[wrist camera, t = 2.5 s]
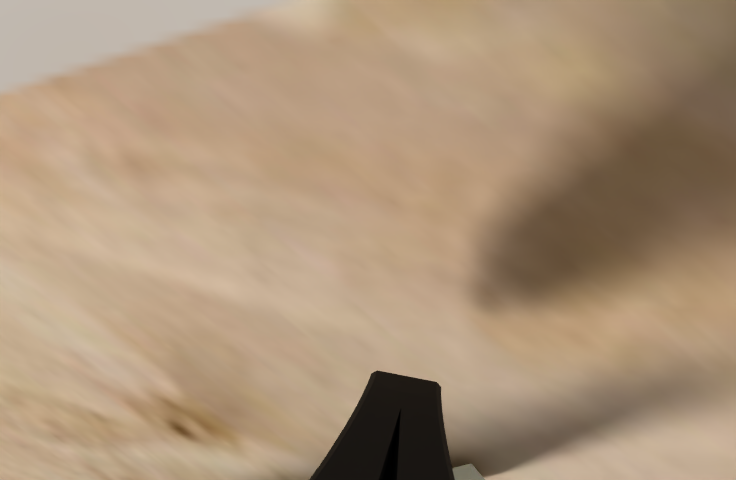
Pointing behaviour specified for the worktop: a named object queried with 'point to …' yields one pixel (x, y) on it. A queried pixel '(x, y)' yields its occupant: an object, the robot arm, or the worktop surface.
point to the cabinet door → (466, 473)
